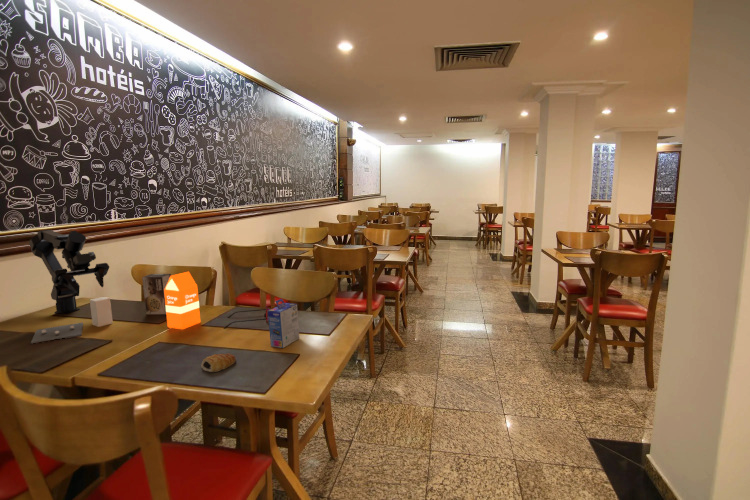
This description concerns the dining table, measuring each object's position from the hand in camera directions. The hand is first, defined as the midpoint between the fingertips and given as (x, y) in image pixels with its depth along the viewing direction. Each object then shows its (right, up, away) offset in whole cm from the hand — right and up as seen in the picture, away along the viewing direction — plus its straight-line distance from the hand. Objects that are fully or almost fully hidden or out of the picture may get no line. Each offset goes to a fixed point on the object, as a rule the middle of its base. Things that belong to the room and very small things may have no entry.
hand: (90, 289), depth 162 cm
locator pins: (-2, -15, -14) cm, 21 cm away
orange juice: (+40, -13, -5) cm, 42 cm away
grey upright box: (+22, -11, +12) cm, 27 cm away
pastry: (+67, -19, -43) cm, 82 cm away
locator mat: (-3, -15, -12) cm, 20 cm away
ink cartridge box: (+82, -16, -25) cm, 88 cm away
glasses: (+63, -13, -2) cm, 64 cm away
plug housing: (+6, -13, -2) cm, 15 cm away
